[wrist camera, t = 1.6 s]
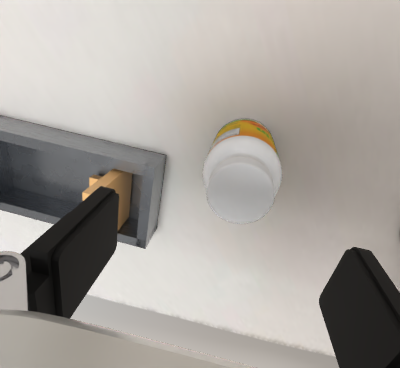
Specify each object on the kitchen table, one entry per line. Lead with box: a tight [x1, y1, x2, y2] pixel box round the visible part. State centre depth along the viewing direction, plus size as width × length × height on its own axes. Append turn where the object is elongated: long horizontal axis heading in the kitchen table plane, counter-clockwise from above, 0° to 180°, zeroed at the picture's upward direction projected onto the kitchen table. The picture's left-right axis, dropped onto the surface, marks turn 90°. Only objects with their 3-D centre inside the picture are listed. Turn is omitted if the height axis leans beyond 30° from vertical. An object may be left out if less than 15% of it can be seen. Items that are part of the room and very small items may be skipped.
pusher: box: [82, 169, 132, 230], centre depth 24 cm, size 4×6×7 cm, turn 169°
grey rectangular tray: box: [0, 115, 166, 249], centre depth 26 cm, size 18×9×5 cm, turn 79°
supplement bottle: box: [203, 119, 282, 224], centre depth 19 cm, size 5×5×10 cm
